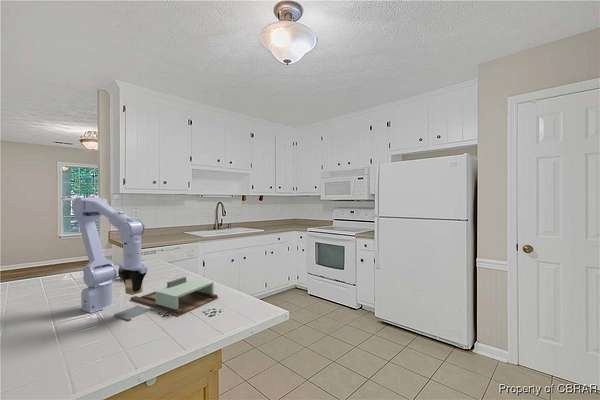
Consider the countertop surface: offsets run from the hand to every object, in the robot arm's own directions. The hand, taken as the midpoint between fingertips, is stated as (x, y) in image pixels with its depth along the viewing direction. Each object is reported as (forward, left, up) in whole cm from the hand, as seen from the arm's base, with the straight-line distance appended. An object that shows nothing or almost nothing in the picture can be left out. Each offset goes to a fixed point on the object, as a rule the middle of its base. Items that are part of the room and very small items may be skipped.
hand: (133, 289), depth 103 cm
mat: (0, 0, -9) cm, 9 cm away
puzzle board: (+16, -2, -9) cm, 18 cm away
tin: (+24, +42, -9) cm, 49 cm away
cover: (+16, -9, -7) cm, 20 cm away
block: (0, 0, -1) cm, 1 cm away
